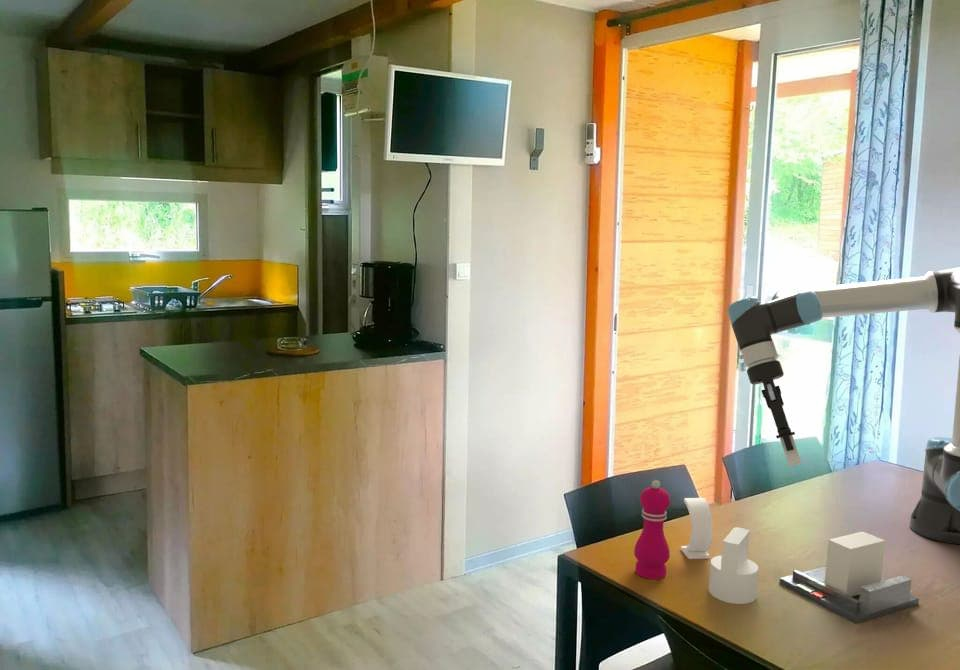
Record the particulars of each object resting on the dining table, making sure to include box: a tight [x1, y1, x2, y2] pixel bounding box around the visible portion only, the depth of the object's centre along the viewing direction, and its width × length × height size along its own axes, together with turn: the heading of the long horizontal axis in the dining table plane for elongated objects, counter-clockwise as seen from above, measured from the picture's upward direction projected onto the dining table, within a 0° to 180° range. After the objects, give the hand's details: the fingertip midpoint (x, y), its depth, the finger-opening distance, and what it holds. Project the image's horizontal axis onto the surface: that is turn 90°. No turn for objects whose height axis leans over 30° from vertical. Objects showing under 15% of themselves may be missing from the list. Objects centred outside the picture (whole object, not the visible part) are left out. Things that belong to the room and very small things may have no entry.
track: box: [779, 565, 920, 625], centre depth 160 cm, size 18×18×6 cm
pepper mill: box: [633, 480, 671, 580], centre depth 166 cm, size 7×7×20 cm
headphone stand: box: [680, 497, 714, 560], centre depth 177 cm, size 5×6×12 cm
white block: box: [825, 531, 886, 597], centre depth 159 cm, size 10×6×10 cm, turn 118°
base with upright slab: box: [708, 526, 759, 605], centre depth 159 cm, size 9×9×12 cm
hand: (795, 465), depth 179 cm, fingers closed
